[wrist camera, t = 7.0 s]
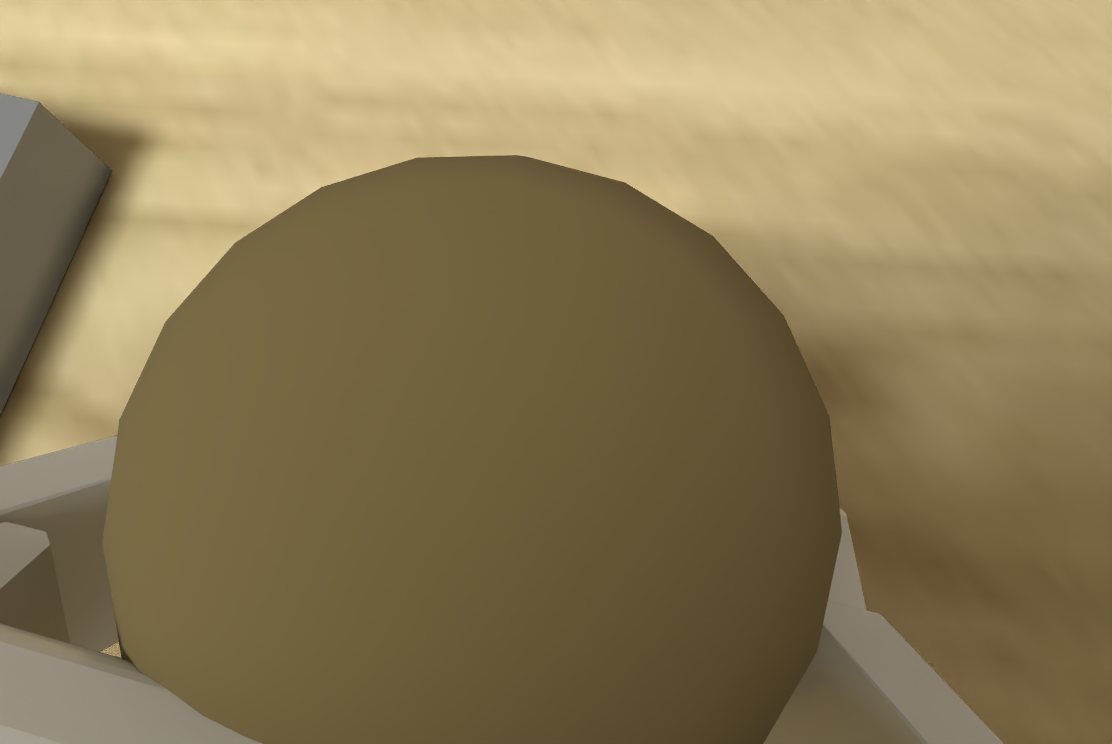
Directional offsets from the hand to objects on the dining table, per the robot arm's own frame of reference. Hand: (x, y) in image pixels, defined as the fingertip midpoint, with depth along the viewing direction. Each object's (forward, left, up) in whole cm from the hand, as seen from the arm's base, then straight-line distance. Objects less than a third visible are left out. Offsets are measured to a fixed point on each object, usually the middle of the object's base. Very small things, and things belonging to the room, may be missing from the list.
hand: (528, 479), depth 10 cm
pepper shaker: (0, +1, -6) cm, 6 cm away
